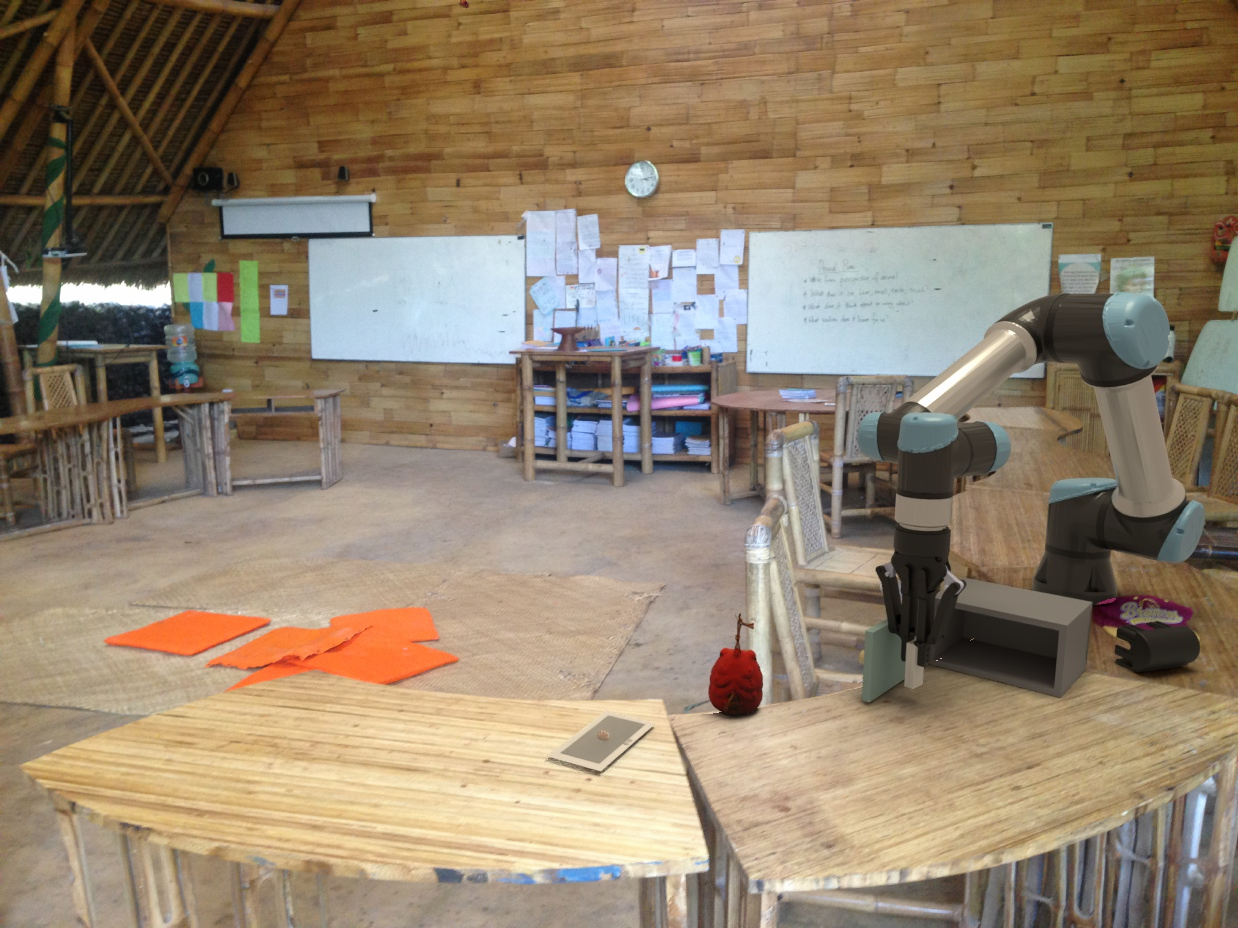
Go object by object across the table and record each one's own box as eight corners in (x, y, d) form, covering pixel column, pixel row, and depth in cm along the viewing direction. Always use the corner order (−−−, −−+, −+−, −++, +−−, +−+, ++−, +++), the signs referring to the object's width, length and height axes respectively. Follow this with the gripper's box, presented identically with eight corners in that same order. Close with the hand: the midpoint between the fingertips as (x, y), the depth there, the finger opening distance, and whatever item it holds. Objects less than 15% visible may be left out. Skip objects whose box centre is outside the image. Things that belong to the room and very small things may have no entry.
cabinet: (958, 639, 159) (963, 577, 157) (1086, 669, 146) (1092, 601, 144) (926, 663, 148) (930, 596, 146) (1060, 697, 135) (1067, 625, 133)
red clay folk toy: (761, 700, 134) (764, 600, 132) (763, 721, 127) (766, 616, 125) (708, 697, 135) (710, 597, 132) (707, 718, 128) (709, 614, 126)
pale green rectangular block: (929, 662, 147) (933, 599, 145) (869, 702, 132) (873, 632, 130) (913, 657, 149) (917, 595, 147) (852, 697, 134) (856, 628, 132)
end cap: (1147, 680, 142) (1152, 638, 141) (1110, 663, 149) (1114, 622, 148) (1198, 672, 145) (1203, 631, 144) (1160, 656, 152) (1164, 616, 151)
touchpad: (546, 764, 116) (546, 747, 116) (605, 717, 129) (605, 703, 129) (600, 779, 112) (600, 762, 112) (656, 730, 125) (656, 715, 125)
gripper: (980, 528, 127) (969, 691, 131) (895, 513, 137) (887, 665, 141) (953, 537, 122) (942, 706, 126) (867, 520, 132) (859, 679, 135)
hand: (913, 684), depth 133 cm, fingers closed
